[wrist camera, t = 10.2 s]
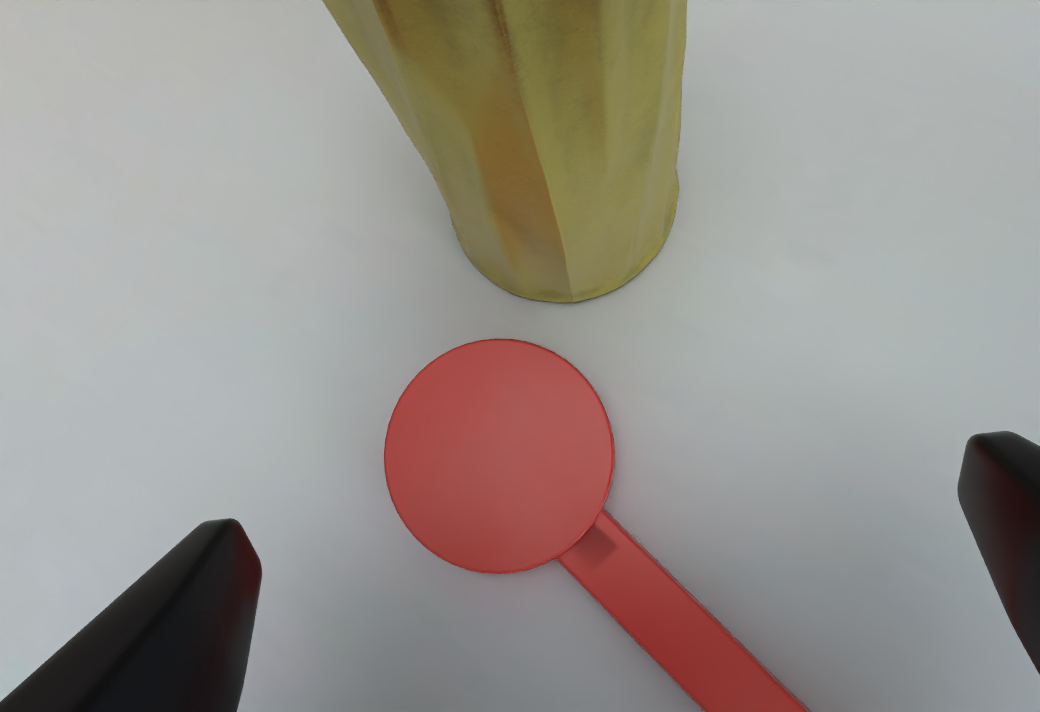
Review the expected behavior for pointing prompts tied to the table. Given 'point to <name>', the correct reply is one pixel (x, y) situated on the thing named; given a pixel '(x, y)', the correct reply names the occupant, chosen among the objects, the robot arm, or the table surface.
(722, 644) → the spoon
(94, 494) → the table surface
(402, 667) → the table surface
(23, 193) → the table surface
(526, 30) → the vase
